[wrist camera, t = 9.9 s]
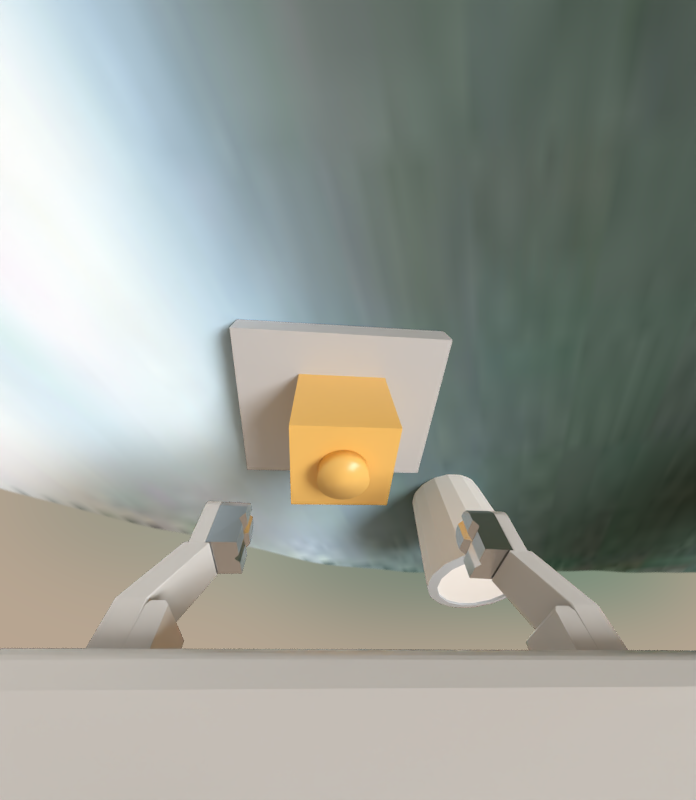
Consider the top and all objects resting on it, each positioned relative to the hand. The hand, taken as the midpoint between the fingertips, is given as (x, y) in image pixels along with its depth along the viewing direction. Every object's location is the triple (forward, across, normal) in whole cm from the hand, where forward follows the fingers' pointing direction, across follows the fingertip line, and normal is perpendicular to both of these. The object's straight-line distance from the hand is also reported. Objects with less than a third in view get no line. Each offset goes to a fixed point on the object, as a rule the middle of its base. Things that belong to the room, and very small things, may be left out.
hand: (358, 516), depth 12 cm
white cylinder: (+10, -9, +10) cm, 17 cm away
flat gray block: (+10, +1, +1) cm, 10 cm away
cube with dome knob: (+8, +1, +1) cm, 8 cm away
